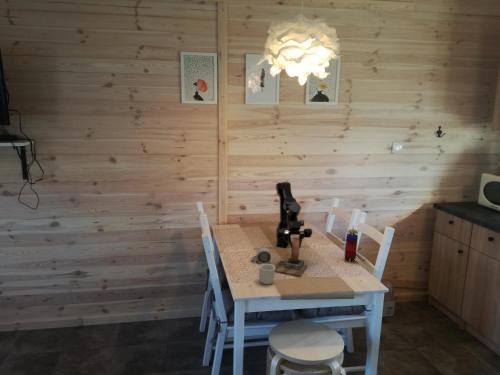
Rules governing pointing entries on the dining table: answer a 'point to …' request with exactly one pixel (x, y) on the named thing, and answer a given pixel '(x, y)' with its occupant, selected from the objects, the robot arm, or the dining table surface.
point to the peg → (295, 249)
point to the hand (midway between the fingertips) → (295, 247)
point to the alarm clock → (351, 244)
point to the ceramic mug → (262, 256)
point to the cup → (266, 273)
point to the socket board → (291, 267)
